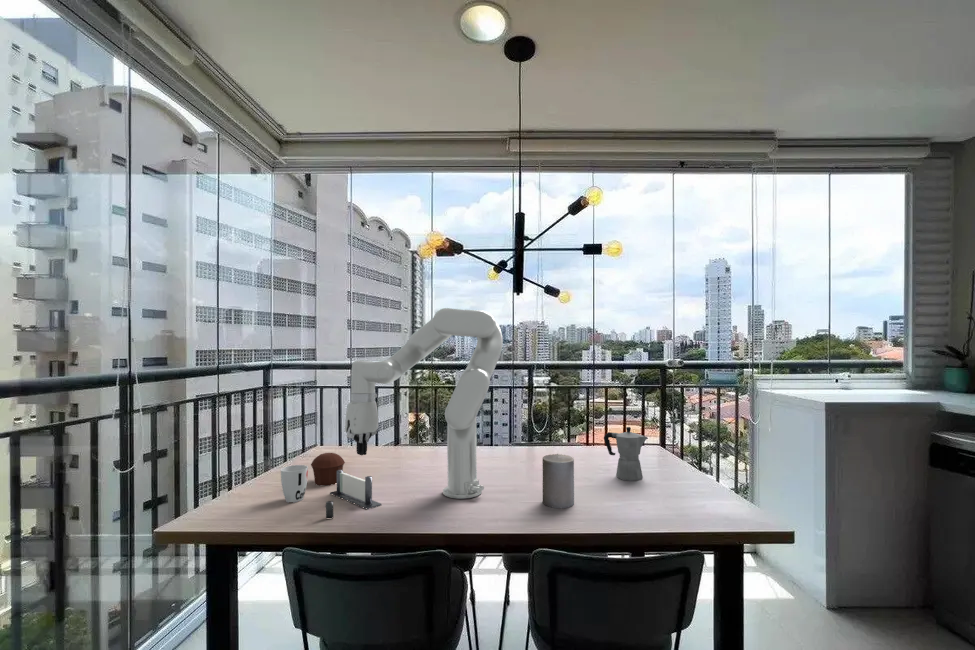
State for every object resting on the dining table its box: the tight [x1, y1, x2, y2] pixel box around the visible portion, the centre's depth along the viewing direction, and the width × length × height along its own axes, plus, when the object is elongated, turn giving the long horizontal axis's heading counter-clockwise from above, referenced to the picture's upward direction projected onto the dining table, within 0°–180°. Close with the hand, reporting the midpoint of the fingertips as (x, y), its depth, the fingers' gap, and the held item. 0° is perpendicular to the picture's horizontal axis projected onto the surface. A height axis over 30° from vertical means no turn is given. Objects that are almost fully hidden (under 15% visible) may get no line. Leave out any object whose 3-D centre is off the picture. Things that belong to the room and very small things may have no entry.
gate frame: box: [325, 469, 382, 519], centre depth 150 cm, size 22×17×8 cm
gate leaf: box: [340, 471, 365, 501], centre depth 155 cm, size 14×1×6 cm, turn 47°
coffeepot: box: [603, 426, 649, 482], centre depth 177 cm, size 15×9×18 cm, turn 67°
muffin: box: [310, 452, 346, 486], centre depth 174 cm, size 12×11×10 cm
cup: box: [280, 464, 309, 503], centre depth 155 cm, size 8×8×10 cm
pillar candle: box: [542, 453, 575, 509], centre depth 150 cm, size 10×10×15 cm
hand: (361, 454), depth 160 cm, fingers closed
